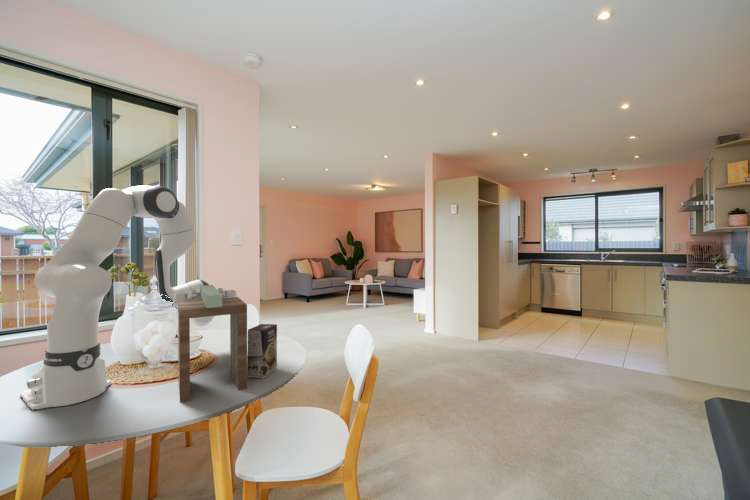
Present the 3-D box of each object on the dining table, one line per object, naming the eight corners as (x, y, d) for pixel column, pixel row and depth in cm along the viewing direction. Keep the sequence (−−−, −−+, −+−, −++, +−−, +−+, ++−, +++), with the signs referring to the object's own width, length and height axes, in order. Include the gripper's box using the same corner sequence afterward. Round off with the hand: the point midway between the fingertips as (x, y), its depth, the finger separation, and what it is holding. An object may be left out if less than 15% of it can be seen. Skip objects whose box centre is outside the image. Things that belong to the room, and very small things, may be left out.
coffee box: (264, 379, 112) (264, 330, 112) (246, 377, 113) (246, 329, 113) (277, 369, 121) (277, 324, 120) (261, 367, 122) (261, 323, 122)
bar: (200, 295, 121) (200, 285, 121) (212, 294, 123) (212, 284, 123) (207, 308, 98) (207, 296, 98) (222, 306, 101) (222, 295, 100)
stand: (178, 381, 109) (178, 301, 109) (238, 371, 119) (237, 297, 118) (179, 402, 96) (179, 310, 95) (247, 388, 105) (247, 304, 104)
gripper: (172, 299, 123) (172, 284, 113) (232, 295, 134) (237, 280, 124) (172, 315, 121) (172, 301, 110) (233, 310, 132) (239, 296, 121)
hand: (207, 290), depth 117 cm, fingers open, 7 cm apart
